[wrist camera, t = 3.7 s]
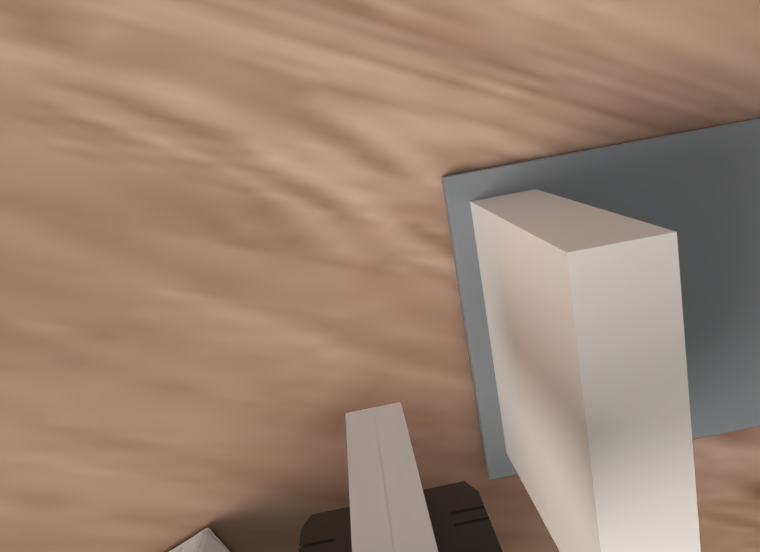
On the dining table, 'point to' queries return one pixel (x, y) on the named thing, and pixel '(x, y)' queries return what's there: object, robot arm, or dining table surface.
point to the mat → (695, 249)
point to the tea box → (202, 543)
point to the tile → (591, 370)
